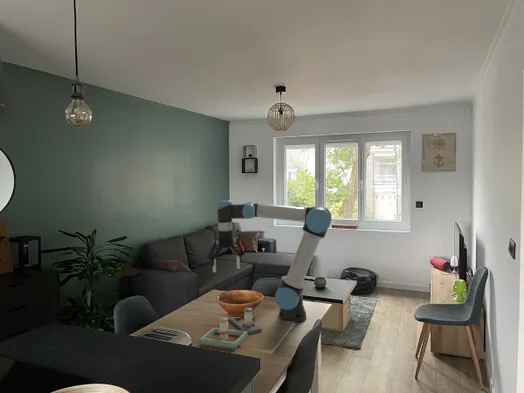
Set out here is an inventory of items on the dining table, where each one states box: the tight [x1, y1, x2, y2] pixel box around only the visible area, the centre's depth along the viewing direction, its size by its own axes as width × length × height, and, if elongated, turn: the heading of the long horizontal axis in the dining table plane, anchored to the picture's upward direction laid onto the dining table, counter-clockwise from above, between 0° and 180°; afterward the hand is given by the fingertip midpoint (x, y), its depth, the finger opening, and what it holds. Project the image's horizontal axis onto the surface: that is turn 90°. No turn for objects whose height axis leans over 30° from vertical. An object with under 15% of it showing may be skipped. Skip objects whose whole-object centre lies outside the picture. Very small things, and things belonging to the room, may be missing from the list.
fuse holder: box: [227, 315, 263, 335], centre depth 201 cm, size 24×8×2 cm, turn 27°
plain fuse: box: [243, 306, 254, 328], centre depth 196 cm, size 4×4×10 cm
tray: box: [199, 327, 249, 351], centre depth 184 cm, size 18×14×3 cm
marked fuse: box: [218, 316, 230, 341], centre depth 184 cm, size 4×4×10 cm
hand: (226, 270), depth 205 cm, fingers open, 13 cm apart
